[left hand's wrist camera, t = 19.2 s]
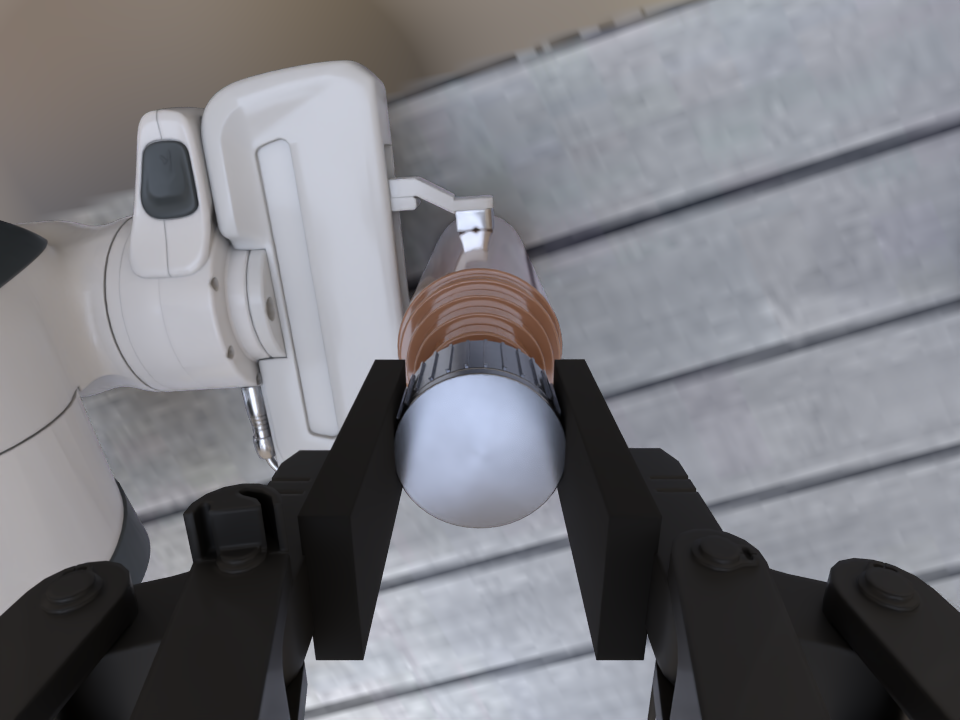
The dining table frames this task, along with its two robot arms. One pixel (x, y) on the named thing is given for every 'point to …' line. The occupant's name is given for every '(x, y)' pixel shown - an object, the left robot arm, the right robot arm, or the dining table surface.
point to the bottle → (480, 299)
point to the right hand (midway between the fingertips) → (498, 281)
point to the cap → (479, 435)
